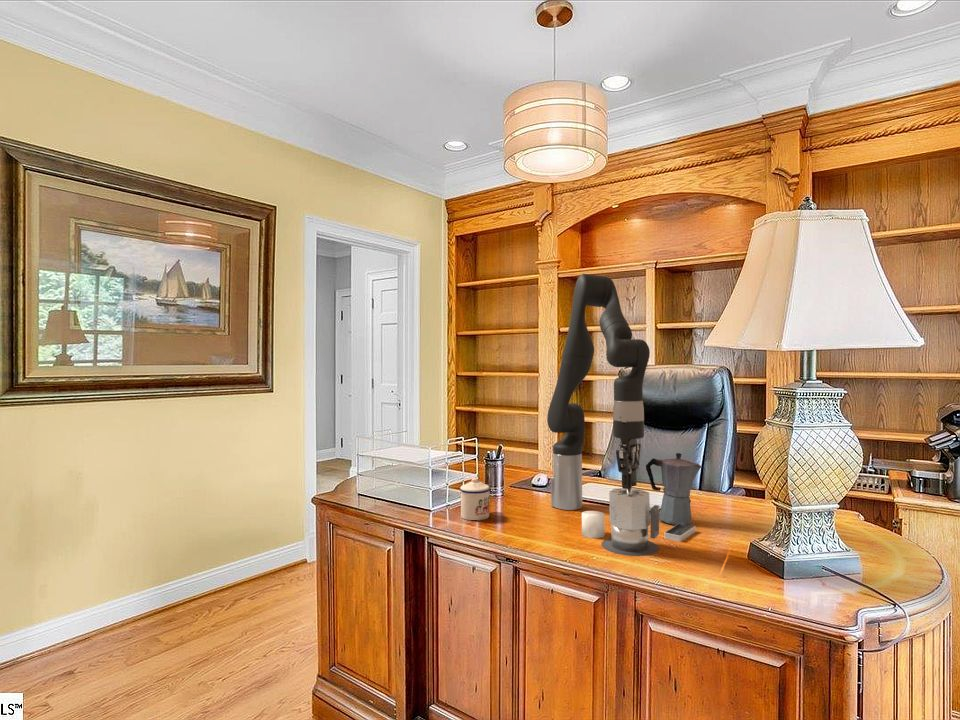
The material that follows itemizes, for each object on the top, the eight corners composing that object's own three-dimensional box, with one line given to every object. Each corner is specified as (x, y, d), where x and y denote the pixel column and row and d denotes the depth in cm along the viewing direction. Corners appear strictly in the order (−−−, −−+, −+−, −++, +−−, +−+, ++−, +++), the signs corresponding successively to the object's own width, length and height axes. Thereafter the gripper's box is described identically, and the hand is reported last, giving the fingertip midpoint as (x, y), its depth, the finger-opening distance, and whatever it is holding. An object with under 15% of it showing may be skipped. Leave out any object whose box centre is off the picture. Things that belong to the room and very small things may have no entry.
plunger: (617, 521, 135) (617, 465, 135) (623, 516, 139) (622, 462, 139) (636, 524, 132) (635, 467, 133) (641, 519, 136) (640, 464, 136)
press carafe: (606, 548, 134) (606, 493, 134) (617, 537, 142) (617, 486, 142) (652, 556, 128) (651, 499, 128) (661, 545, 136) (660, 491, 136)
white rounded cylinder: (578, 537, 144) (578, 515, 144) (586, 531, 149) (586, 509, 149) (600, 541, 141) (600, 518, 141) (607, 534, 146) (607, 512, 146)
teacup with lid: (478, 523, 157) (478, 483, 157) (454, 518, 163) (453, 479, 163) (501, 513, 167) (500, 475, 167) (477, 508, 172) (476, 472, 172)
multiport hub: (663, 541, 141) (663, 532, 141) (679, 531, 150) (679, 522, 150) (680, 544, 138) (680, 535, 138) (695, 534, 147) (695, 525, 147)
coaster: (593, 551, 133) (593, 549, 133) (611, 535, 145) (611, 533, 145) (651, 561, 126) (651, 559, 126) (664, 543, 138) (664, 542, 138)
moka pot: (705, 528, 151) (705, 456, 151) (648, 525, 154) (647, 455, 154) (698, 518, 160) (698, 450, 160) (644, 515, 163) (644, 449, 163)
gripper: (622, 415, 144) (622, 479, 144) (604, 420, 132) (605, 490, 132) (650, 416, 140) (651, 482, 140) (635, 422, 128) (636, 494, 128)
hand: (629, 486), depth 136 cm, fingers closed on plunger, 3 cm apart
